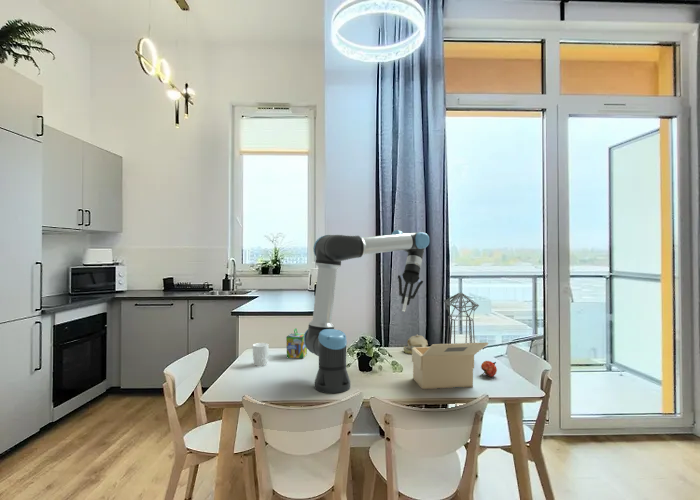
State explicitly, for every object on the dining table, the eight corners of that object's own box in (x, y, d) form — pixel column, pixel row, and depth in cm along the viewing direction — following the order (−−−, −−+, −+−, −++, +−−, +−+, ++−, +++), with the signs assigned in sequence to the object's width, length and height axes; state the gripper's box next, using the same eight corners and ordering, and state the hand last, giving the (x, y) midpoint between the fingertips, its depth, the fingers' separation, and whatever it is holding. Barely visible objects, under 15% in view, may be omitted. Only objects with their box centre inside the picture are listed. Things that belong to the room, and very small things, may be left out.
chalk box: (302, 359, 217) (302, 331, 217) (286, 358, 218) (286, 330, 218) (307, 354, 226) (307, 327, 226) (291, 353, 227) (291, 326, 227)
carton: (420, 389, 172) (420, 355, 172) (411, 378, 186) (411, 347, 186) (474, 387, 175) (474, 354, 175) (461, 376, 189) (461, 345, 189)
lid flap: (422, 355, 171) (422, 356, 171) (432, 344, 159) (432, 345, 158) (474, 353, 174) (474, 355, 174) (487, 342, 161) (488, 344, 161)
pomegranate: (486, 384, 185) (504, 370, 185) (476, 370, 186) (493, 357, 186) (482, 380, 192) (499, 367, 193) (472, 367, 193) (489, 354, 193)
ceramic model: (424, 349, 239) (424, 331, 238) (432, 354, 228) (432, 336, 227) (401, 350, 235) (401, 333, 235) (408, 355, 224) (408, 337, 224)
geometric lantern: (471, 355, 225) (471, 291, 224) (479, 363, 209) (480, 294, 208) (441, 355, 225) (442, 291, 224) (448, 363, 209) (448, 294, 209)
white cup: (270, 365, 205) (270, 345, 205) (253, 367, 202) (253, 347, 202) (267, 361, 212) (267, 342, 212) (251, 363, 209) (251, 343, 209)
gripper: (424, 272, 208) (416, 316, 199) (399, 266, 210) (389, 309, 200) (427, 266, 201) (418, 311, 192) (401, 260, 203) (390, 304, 193)
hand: (403, 310), depth 196 cm, fingers closed
